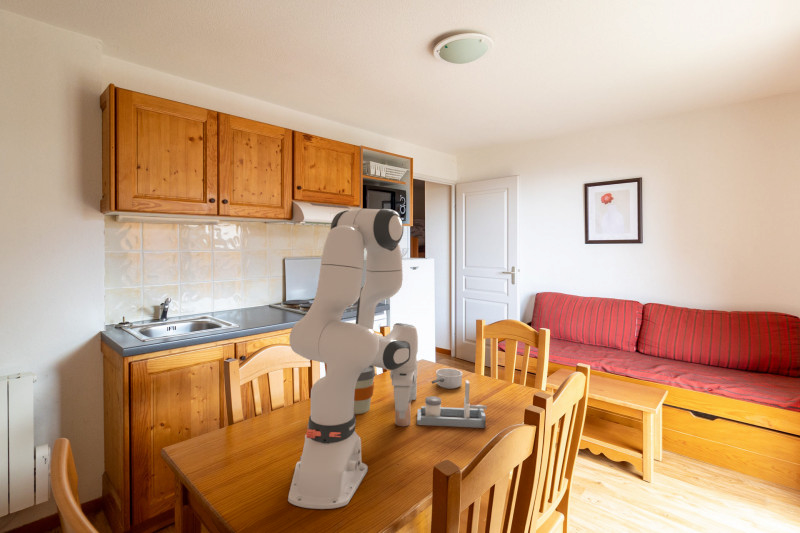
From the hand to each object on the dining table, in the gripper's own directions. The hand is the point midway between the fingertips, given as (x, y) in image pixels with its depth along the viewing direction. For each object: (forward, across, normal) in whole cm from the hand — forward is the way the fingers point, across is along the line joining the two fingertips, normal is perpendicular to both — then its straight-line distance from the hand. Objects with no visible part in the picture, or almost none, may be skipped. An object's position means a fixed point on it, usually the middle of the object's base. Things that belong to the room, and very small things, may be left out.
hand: (402, 413), depth 126 cm
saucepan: (+3, -34, +15) cm, 38 cm away
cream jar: (+3, -4, +10) cm, 11 cm away
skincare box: (+4, -22, +1) cm, 23 cm away
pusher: (+3, -4, +24) cm, 25 cm away
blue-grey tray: (+3, -4, +16) cm, 17 cm away
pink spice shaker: (+3, 0, 0) cm, 3 cm away
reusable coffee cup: (+4, -10, -17) cm, 20 cm away
